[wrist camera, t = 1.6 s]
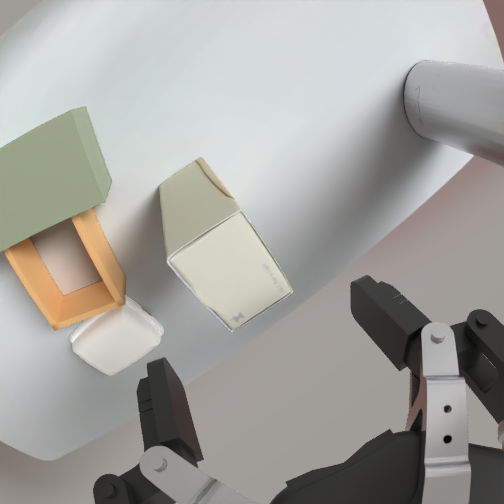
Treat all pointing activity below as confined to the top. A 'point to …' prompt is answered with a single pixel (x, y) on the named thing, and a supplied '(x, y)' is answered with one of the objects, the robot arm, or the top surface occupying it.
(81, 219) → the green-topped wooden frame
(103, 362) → the soap
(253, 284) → the skincare box
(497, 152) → the robot arm
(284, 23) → the top surface
